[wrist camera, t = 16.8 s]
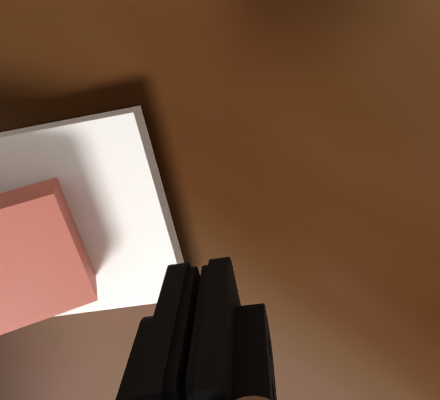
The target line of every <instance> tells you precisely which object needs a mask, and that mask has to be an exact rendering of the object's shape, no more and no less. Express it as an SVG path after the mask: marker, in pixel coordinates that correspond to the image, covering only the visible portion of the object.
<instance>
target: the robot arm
mask: <svg viewBox="0 0 440 400" xmlns="http://www.w3.org/2000/svg"><path fill="white" fill-rule="evenodd" d="M116 400H277V398H276V387H275V376H274V365H273V355H272V346H271V339H270V332H269V326H268V320H267V314H266V309H265V305H264V303H263V304H254V305H245V306H241V304H240V299H239V295H238V290H237V285H236V281H235V276H234V271H233V266H232V262H231V259H230V257H224V258H217V259H210V260H209V264H208V265H205V266H202V269H201V276H200V274H199V270H198V268H197V267H191V265H190V263H189V262H186V263H179V264H171V265H168V266H167V269H166V273H165V276H164V280H163V284H162V287H161V291H160V294H159V298H158V301H157V305H156V309H155V312H154V316H150V317H144V318H143V319H142V320H141V322H140V324H139V328H138V331H137V334H136V337H135V340H134V343H133V346H132V350H131V353H130V356H129V359H128V362H127V365H126V369H125V372H124V375H123V378H122V381H121V384H120V388H119V391H118V394H117V397H116Z"/></svg>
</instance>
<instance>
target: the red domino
mask: <svg viewBox="0 0 440 400" xmlns="http://www.w3.org/2000/svg"><path fill="white" fill-rule="evenodd" d="M95 301H98V297H97V283H96V275H95V272H94V270H93V267H92V265H91V262H90V260H89V257H88V255H87V252H86V250H85V247H84V245H83V242H82V240H81V237H80V235H79V232H78V230H77V227H76V225H75V222H74V220H73V217H72V215H71V212H70V210H69V207H68V205H67V202H66V200H65V197H64V195H63V192H62V190H61V187H60V185H59V182H58V180H57V177H56V178H52V179H49V180H45V181H42V182H38V183H35V184H31V185H28V186H24V187H21V188H17V189H14V190H10V191H7V192H3V193H0V335H2V334H5V333H8V332H11V331H13V330H16V329H19V328H22V327H25V326H27V325H30V324H33V323H36V322H39V321H42V320H44V319H47V318H50V317H53V316H56V315H58V314H61V313H64V312H67V311H70V310H72V309H75V308H78V307H81V306H84V305H86V304H89V303H92V302H95Z"/></svg>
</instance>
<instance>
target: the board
mask: <svg viewBox="0 0 440 400" xmlns="http://www.w3.org/2000/svg"><path fill="white" fill-rule="evenodd" d="M56 177H57V180H58V182H59V185H60V187H61V190H62V192H63V195H64V197H65V200H66V202H67V205H68V207H69V210H70V212H71V215H72V217H73V220H74V222H75V225H76V227H77V230H78V232H79V235H80V237H81V240H82V242H83V245H84V247H85V250H86V252H87V255H88V257H89V260H90V262H91V265H92V267H93V270H94V272H95V275H96V283H97V297H98V301H95V302H92V303H89V304H86V305H84V306H81V307H78V308H75V309H72V310H70V311H67V312H64V313H61V314H58V315H56V316H60V315H68V314H76V313H83V312H91V311H99V310H107V309H114V308H122V307H130V306H138V305H145V304H153V303H157V301H158V298H159V294H160V291H161V287H162V284H163V280H164V276H165V273H166V269H167V266H168V265H171V264H179V263H184V260H183V256H182V253H181V249H180V246H179V242H178V238H177V235H176V231H175V228H174V224H173V220H172V217H171V213H170V210H169V206H168V202H167V199H166V195H165V192H164V188H163V185H162V181H161V177H160V174H159V170H158V167H157V163H156V159H155V156H154V152H153V149H152V145H151V141H150V138H149V134H148V131H147V127H146V124H145V120H144V116H143V113H142V109H141V106H135V107H130V108H125V109H119V110H114V111H109V112H104V113H98V114H93V115H88V116H83V117H78V118H72V119H67V120H62V121H57V122H52V123H46V124H41V125H36V126H31V127H25V128H20V129H15V130H10V131H5V132H0V193H3V192H7V191H10V190H14V189H17V188H21V187H24V186H28V185H31V184H35V183H38V182H42V181H45V180H49V179H52V178H56Z"/></svg>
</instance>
